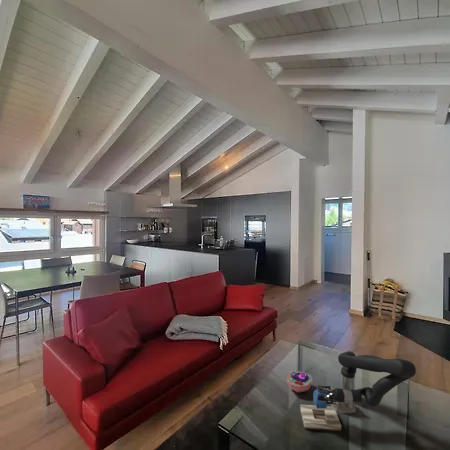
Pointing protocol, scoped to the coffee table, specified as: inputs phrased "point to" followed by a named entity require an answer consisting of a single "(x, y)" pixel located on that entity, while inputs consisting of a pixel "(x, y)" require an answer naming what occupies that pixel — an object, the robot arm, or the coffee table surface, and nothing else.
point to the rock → (344, 407)
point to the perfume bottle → (317, 393)
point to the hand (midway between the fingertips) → (316, 394)
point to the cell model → (299, 381)
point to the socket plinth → (320, 418)
